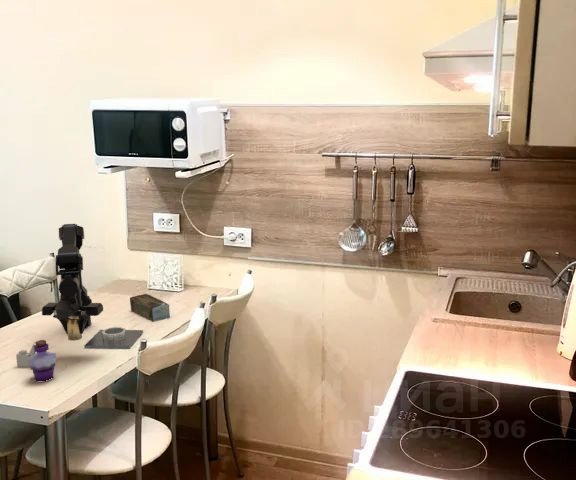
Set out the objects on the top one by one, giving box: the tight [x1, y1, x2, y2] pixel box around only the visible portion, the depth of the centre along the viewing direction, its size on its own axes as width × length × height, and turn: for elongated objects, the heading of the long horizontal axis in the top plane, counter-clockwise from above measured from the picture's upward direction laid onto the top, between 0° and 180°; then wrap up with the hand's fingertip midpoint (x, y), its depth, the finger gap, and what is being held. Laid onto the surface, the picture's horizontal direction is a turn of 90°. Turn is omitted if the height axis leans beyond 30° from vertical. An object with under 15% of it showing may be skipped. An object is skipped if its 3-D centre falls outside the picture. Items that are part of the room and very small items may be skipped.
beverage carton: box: [129, 293, 171, 322], centre depth 252 cm, size 8×19×7 cm, turn 40°
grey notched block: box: [15, 341, 37, 368], centre depth 201 cm, size 7×2×8 cm, turn 90°
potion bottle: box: [28, 339, 57, 382], centre depth 191 cm, size 9×9×12 cm
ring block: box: [83, 326, 144, 350], centre depth 224 cm, size 16×16×4 cm
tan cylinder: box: [66, 316, 83, 341], centre depth 208 cm, size 4×4×7 cm
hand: (74, 333), depth 208 cm, fingers closed on tan cylinder, 4 cm apart
